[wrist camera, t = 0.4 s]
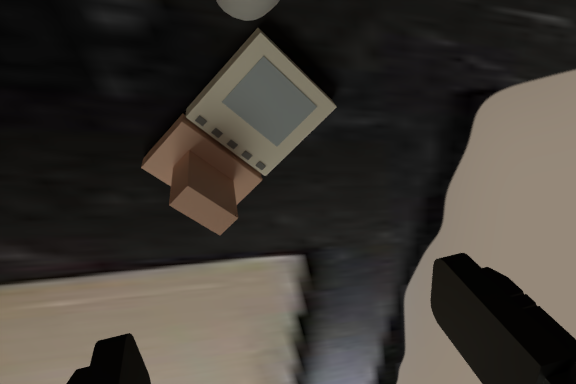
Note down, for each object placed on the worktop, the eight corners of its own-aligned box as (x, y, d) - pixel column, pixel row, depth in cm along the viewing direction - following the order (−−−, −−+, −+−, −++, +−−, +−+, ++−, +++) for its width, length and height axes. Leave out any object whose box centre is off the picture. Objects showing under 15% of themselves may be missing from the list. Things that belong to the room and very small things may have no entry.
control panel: (257, 27, 29) (260, 32, 27) (331, 99, 33) (337, 107, 31) (186, 109, 31) (185, 117, 30) (263, 167, 35) (265, 176, 34)
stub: (182, 113, 31) (179, 154, 26) (259, 170, 35) (270, 217, 30) (143, 158, 32) (132, 206, 27) (221, 208, 36) (225, 258, 31)
